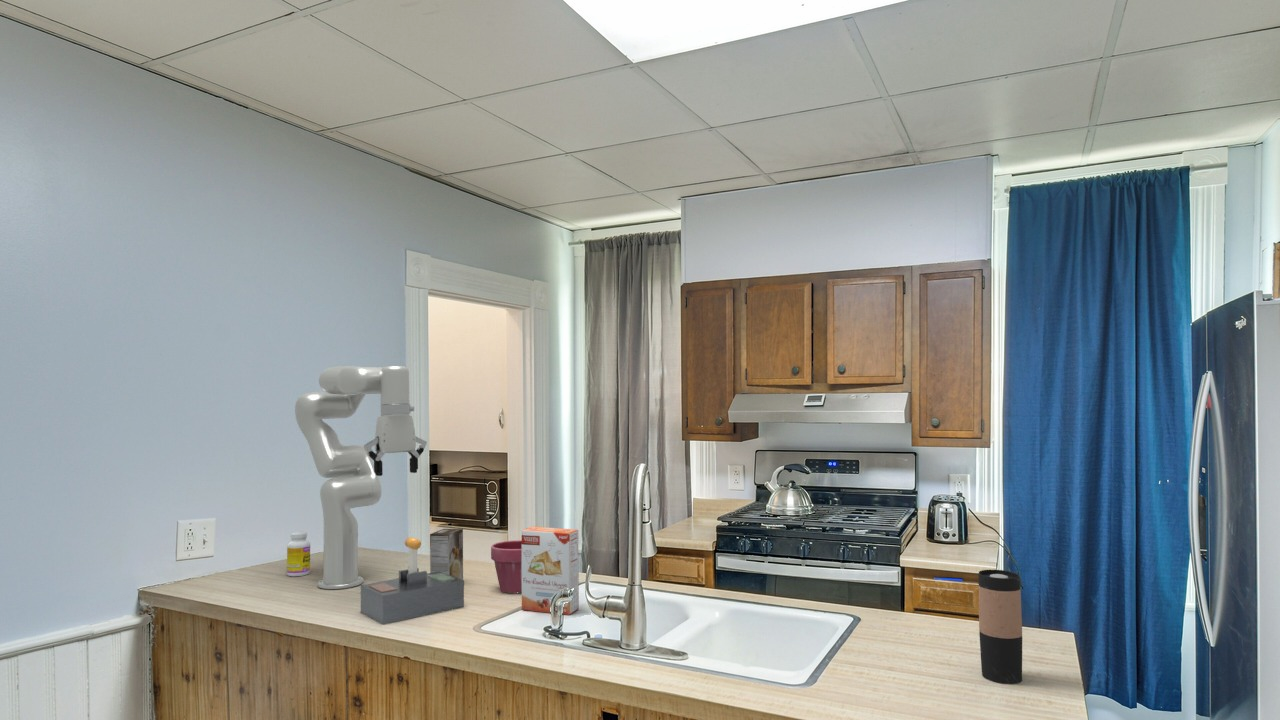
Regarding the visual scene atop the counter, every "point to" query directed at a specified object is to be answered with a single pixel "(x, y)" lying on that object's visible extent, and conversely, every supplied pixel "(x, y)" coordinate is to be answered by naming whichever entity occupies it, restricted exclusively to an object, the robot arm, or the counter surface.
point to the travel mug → (1000, 626)
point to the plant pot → (508, 565)
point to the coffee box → (447, 552)
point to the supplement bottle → (298, 555)
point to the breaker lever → (412, 553)
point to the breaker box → (411, 596)
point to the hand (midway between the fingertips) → (396, 474)
